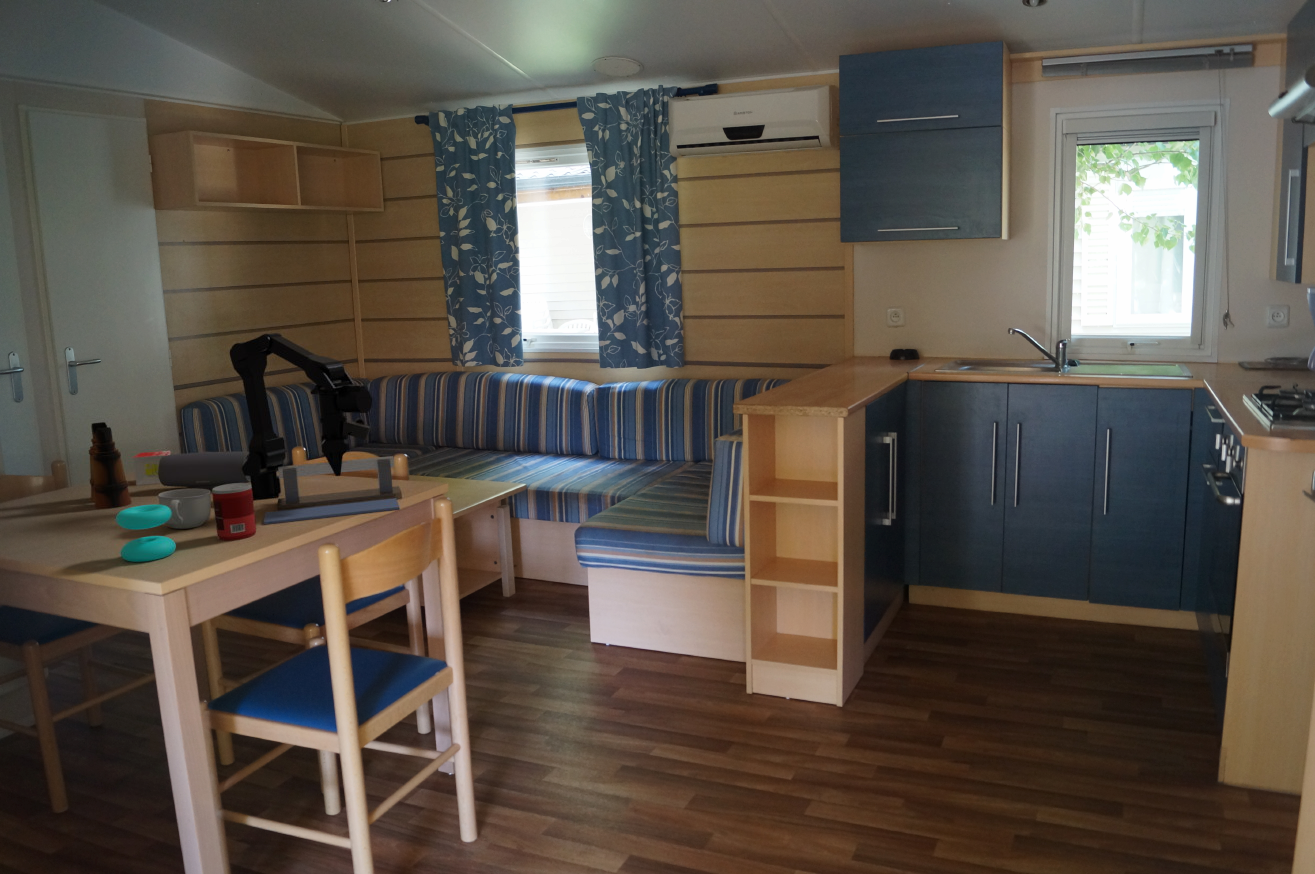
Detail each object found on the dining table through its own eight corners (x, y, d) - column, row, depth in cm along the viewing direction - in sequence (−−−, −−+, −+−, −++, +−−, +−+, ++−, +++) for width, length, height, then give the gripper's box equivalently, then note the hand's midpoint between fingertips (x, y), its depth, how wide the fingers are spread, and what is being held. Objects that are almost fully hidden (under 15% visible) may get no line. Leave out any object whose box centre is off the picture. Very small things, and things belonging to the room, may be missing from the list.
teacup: (177, 520, 230) (173, 487, 228) (222, 519, 229) (218, 485, 228) (145, 536, 216) (140, 501, 215) (193, 535, 216) (188, 499, 214)
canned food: (264, 532, 216) (259, 483, 214) (238, 541, 208) (232, 491, 207) (236, 530, 218) (230, 482, 216) (209, 540, 211) (203, 490, 209)
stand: (277, 511, 234) (273, 472, 233) (278, 504, 242) (274, 466, 240) (402, 498, 243) (398, 460, 242) (399, 491, 251) (396, 455, 249)
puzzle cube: (136, 485, 273) (132, 457, 272) (143, 479, 281) (140, 452, 279) (167, 483, 275) (164, 455, 274) (174, 477, 282) (170, 450, 281)
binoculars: (89, 498, 258) (79, 423, 255) (124, 493, 263) (114, 419, 260) (96, 510, 243) (85, 431, 240) (133, 505, 248) (123, 427, 245)
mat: (263, 524, 222) (263, 522, 222) (265, 514, 232) (265, 512, 232) (399, 509, 232) (399, 506, 232) (396, 500, 241) (396, 498, 241)
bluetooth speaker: (258, 482, 270) (254, 447, 268) (245, 490, 261) (241, 453, 259) (175, 486, 269) (171, 450, 268) (159, 494, 260) (154, 457, 258)
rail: (279, 478, 236) (278, 468, 236) (279, 476, 238) (278, 466, 238) (394, 467, 245) (393, 457, 244) (393, 465, 247) (393, 456, 246)
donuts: (181, 503, 202) (147, 515, 192) (187, 549, 204) (153, 564, 194) (139, 502, 204) (103, 514, 194) (145, 549, 206) (110, 563, 196)
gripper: (368, 414, 233) (373, 478, 235) (364, 405, 250) (370, 465, 253) (318, 418, 229) (325, 483, 232) (318, 408, 247) (324, 469, 249)
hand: (338, 474), depth 242 cm, fingers closed on rail, 2 cm apart
